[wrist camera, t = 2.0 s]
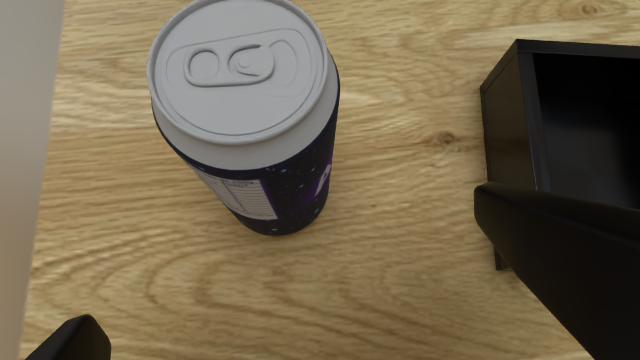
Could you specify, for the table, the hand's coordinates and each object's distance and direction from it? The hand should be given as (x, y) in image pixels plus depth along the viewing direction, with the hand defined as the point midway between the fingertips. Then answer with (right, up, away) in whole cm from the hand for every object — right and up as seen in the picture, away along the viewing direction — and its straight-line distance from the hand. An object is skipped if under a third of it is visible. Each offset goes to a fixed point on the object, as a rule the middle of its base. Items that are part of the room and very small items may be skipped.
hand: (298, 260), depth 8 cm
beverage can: (-2, +1, +13) cm, 13 cm away
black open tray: (+16, +2, +13) cm, 21 cm away
